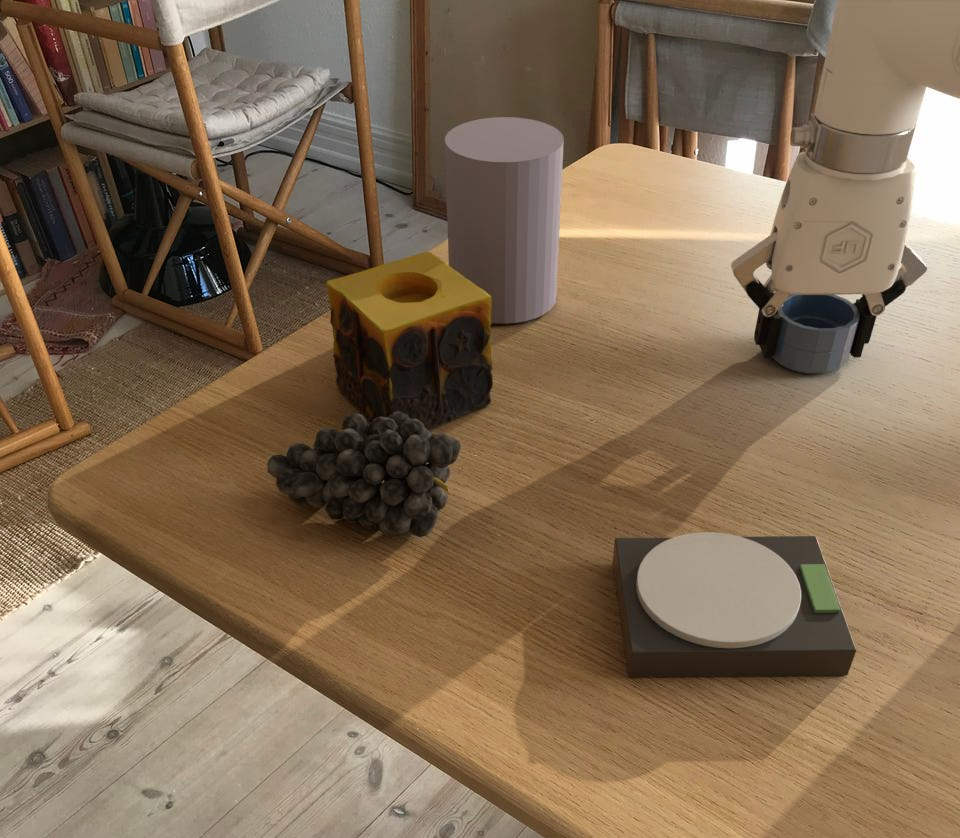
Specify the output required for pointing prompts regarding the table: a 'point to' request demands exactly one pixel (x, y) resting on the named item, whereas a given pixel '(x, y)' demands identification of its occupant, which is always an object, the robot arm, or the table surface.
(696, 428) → the table surface
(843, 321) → the bowl
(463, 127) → the container
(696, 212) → the table surface
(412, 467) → the fruit
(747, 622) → the scale
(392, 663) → the table surface
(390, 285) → the candle
